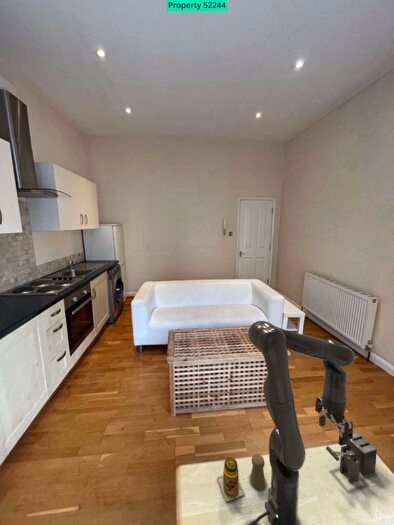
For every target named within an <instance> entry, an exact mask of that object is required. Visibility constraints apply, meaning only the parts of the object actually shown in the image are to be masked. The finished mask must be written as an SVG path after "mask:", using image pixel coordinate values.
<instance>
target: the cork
mask: <svg viewBox="0 0 394 525" xmlns="http://www.w3.org/2000/svg"><path fill="white" fill-rule="evenodd" d="M251 464H252V466H251V473H250V481H249V482H250V485H251V486H252V487H253V488H254V489H255V490H263V489H264V488H266V487H265V486H266V479H265V478H266V477H265V471H264V467H265V459H264V457H263V455H261V454H260V453H254V454H253V455H252V457H251Z"/></svg>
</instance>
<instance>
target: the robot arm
mask: <svg viewBox="0 0 394 525" xmlns="http://www.w3.org/2000/svg"><path fill="white" fill-rule="evenodd" d="M247 336H248V340H249V341H250V343H251V344H252V345H253V346H254V347H255V348H256V349H257V350H258V351H259V352H260V353H261V354H262V355H263V358H264V363H265V365H266V366H265V367H266V376H265V378H264V381H263V383H262V384H263V385H262V388H263V390H262V391H263V396H264V400H265V405H266V409H267V411H268V413H269V416H270V418H271V420H272V422H273V424H274V428H273V429H272V430H271V432H270V434H269V438H268V439H269V440H268V458H269V459H268V460H269V464H270V465H269V466H270V469H271V471H270V472H271V473H270V487H269V488H268V490H267V491H268V496H267V500H266V501H264V509H265V512H263V513H262V514H260V515H259V516H258V517H256V519H255V520H253V521H251V522H250V523H249V524H248V525H256V524H258V523H259V522H260V520H262V519H263V518H265V517H267V516H268V517H269V520H270V522H271V524H272V525H298V524H299V521H298V520H299V519H298V517H299V516H298V514H299V511H298V510H299V491H300V490H299V489H300V471H299V470H301V469H302V468H303V466H304V465H305V461H306V449H305V444H304V442H303V437H302V435H301V434H302V433H301V430H300V427H299V420H298V416H297V411H296V404H295V398H294V397H295V396H294V390H293V386H292V381H291V375H290V374H291V373H290V368H289V351H291V352H293V353H296V354H299V355H301V356H304V357H307V358H311V359H316V360H322V364H323V369H324V378H323V383H322V396H319V397H318V396H317V397H316V398H315V405H314V406H315V407H314V411H315V412H316V413H318V423H319V426H320V427H325V426H326V422H327V419H328V420H330V421H331V423H333V425H334V427H335V429H336V430H337V432H338V434H339V435H338V442H337V443H338V445H339V446H340V447H343V446H346V440H349V439H353V433H354V423H353V422H352V421H351V420H347V419H346V417H345V414H346V410H347V398H348V391H347V390H348V389H347V388H348V386H347V385H348V373H347V371H346V370H345V369H344V368H343V367H345V368H347V367H349V366H351V365H353V364H354V363H355V360H356V355H355V352H354V351H353V350H352V349H351V348H350V347H348V346H347V345H345V344H343V343H341V342H339V341H337V340H334V339H332V338H327V339H323V338H319V337H316V336H310V335H306V334H302V333H299V332H294V331H290V330H287V329H284V328H281V327H278V326H276V325H274V324H273V323H270V322H269V321H265V320H257V321H254V322H253V323H252V324H251V325H250V326H249V328H248V332H247ZM339 424H340V425H339Z"/></svg>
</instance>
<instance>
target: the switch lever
mask: <svg viewBox="0 0 394 525" xmlns="http://www.w3.org/2000/svg"><path fill="white" fill-rule="evenodd" d="M325 450H326V451H327V452H328V453H329V454H330V455H331V457H332V458H333V459H334V460H335V461H336V462H340V457H341V456H342V457H347V458H348V459H349V460H350V456H351V455H354V453H353V452H352V451H351V450H346V452H341V451H335V450H333V449H332V448H331V447H330V446H328V445H327V446H326V447H325Z"/></svg>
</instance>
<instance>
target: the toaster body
mask: <svg viewBox="0 0 394 525" xmlns="http://www.w3.org/2000/svg"><path fill="white" fill-rule="evenodd" d="M346 445H350V446H351V451H352V452H353V453H354V454H357V453H358V454H359V455H360V467H359V475H361V476H362V477H366V476H368V475H371V474H373V473H375V472H376V465H377V453H378V448H377V446H375V445H374V444H373V443H371V442H370V441H369V440H368V439H367V438H366V437H365V436H364V435H362V434H361V433H360V432H359V431H356V432H353V439H349V440H346ZM346 445H345V446H346Z"/></svg>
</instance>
